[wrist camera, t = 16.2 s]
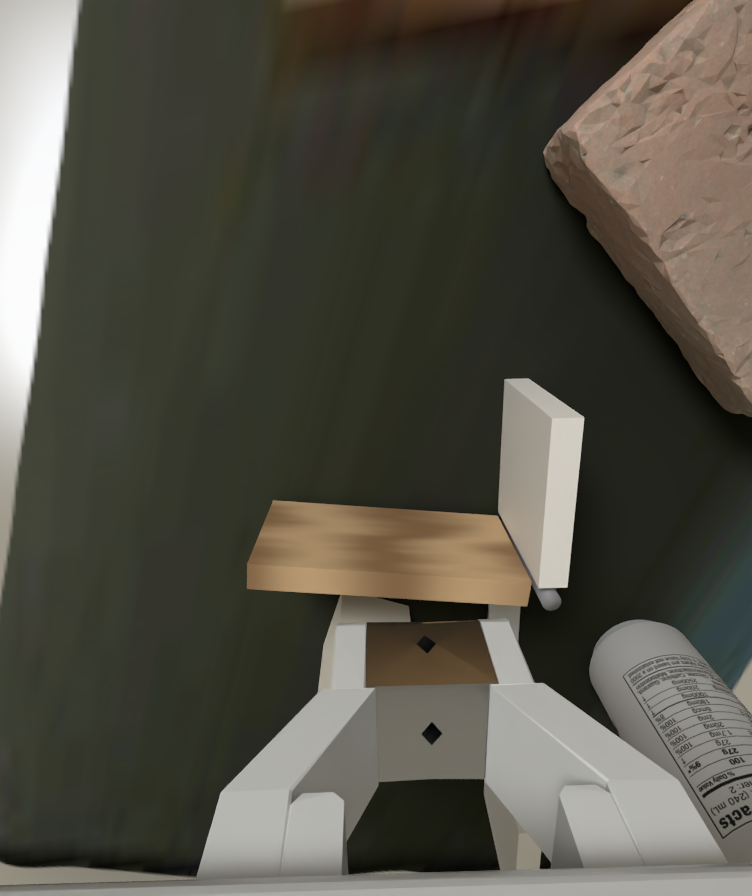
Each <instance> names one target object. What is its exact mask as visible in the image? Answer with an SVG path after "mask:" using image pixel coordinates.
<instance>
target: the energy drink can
mask: <svg viewBox="0 0 752 896" xmlns="http://www.w3.org/2000/svg"><path fill="white" fill-rule="evenodd" d="M589 676H590V679H591V683H592V685H593V687H594V689H595V691H596V693H597V694H598V696H599V698H600V700H601V702H602V704H603V706H604V707H605V709H606V711H607V713H608V715H609V717H610V719H611V721H612V722H613V724H614V726H615V728H616V730H617V732H618V734H619V736H620V737H621V739H622V740H623V741H625V742H626V743H628V744H629V745H630V746H632V747H633V748H634V749H636V750H637V751H639V752H640V753H641V754H643V755H644V756H646V757H647V758H648V759H650V760H651V761H653V762H654V763H655V764H657V765H658V766H659V767H661V768H662V769H664V770H665V771H666V772H668V773H669V774H671V775H672V776H673V777H675V778H676V779H678V780H679V782H680V783H681V785H682V787H683V788H684V790H685V792H686V793H687V795H688V797H689V798H690V800H691V802H692V803H693V805H694V807H695V808H696V810H697V812H698V813H699V815H700V817H701V818H702V820H703V822H704V823H705V825H706V827H707V828H708V830H709V831H710V833H711V835H712V836H713V838H714V840H715V841H716V843H717V845H718V846H719V848H720V850H721V851H722V853H723V855H724V856H725V858H726V860H727V861H728V863H729V864H733V863H752V715H751V713H750V712H749V711H748V710H747V709H746V708H745V706H744V705H743V704H742V703H741V702H740V701H739V700H738V698H737V697H736V696H735V695H734V694H733V692H732V691H731V690H730V689H729V688H728V686H727V685H726V684H725V683H724V682H723V681H722V679H721V678H720V677H719V676H718V675H717V674H716V672H715V671H714V670H713V669H712V668H711V667H710V665H709V664H708V663H707V662H706V661H705V660H704V658H703V657H702V656H701V655H700V654H699V653H698V651H697V650H696V649H695V648H694V647H693V646H692V644H691V643H690V642H689V641H688V640H687V639H686V637H685V636H684V635H683V634H682V633H681V632H680V631H678V630H677V629H675V628H674V627H671V626H669V625H667V624H663V623H658V622H653V621H648V620H631V621H627V622H623V623H620V624H618V625H616V626H614V627H612V628H611V629H609V630H608V631H607V632H606V633H605V634H604V635H602V636H601V638H600V639H599V640H598V642H597V643H596V646H595V648H594V650H593V655H592V658H591V662H590V667H589Z"/></svg>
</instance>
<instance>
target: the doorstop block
mask: <svg viewBox="0 0 752 896" xmlns="http://www.w3.org/2000/svg"><path fill="white" fill-rule="evenodd" d="M356 622H365V623H366V627H367V622H411V621H410V613H409V606H407V605H403V604H399V603H395V602H391V601H387V600H384V599H380V598H376V597H368V596H352V595H340V598H339V601H338V604H337V607H336V609H335V612H334V615H333V618H332V621H331V624H330V627H329V630H328V633H327V636H326V639H325V642H324V646H323V654H322V662H321V671H320V679H319V688H318V692H319V691H320V690H322V689H330V685H331V674H332V663H333V652H334V642H335V631H336V626H337V624H338V623H356Z"/></svg>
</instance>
